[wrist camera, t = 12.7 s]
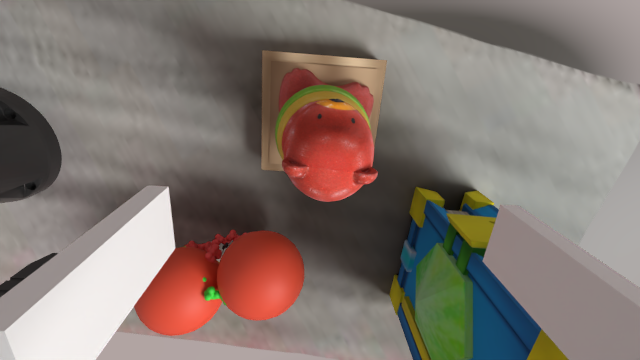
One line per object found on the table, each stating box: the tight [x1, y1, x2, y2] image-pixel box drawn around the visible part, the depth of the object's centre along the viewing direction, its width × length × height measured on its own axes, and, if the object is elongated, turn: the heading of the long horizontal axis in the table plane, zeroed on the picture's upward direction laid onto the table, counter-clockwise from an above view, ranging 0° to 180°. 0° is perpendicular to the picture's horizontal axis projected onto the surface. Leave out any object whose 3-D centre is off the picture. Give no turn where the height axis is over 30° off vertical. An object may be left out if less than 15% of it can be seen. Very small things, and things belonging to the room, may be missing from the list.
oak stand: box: [261, 50, 387, 171], centre depth 38 cm, size 14×14×4 cm
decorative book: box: [390, 187, 569, 360], centre depth 34 cm, size 14×23×30 cm, turn 174°
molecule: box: [134, 230, 304, 336], centre depth 40 cm, size 25×11×15 cm, turn 107°
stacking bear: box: [275, 68, 378, 202], centre depth 28 cm, size 11×10×18 cm
